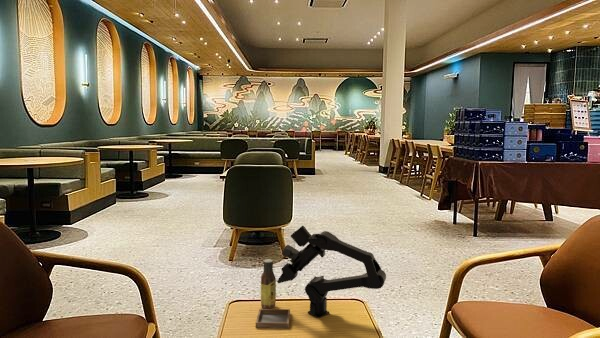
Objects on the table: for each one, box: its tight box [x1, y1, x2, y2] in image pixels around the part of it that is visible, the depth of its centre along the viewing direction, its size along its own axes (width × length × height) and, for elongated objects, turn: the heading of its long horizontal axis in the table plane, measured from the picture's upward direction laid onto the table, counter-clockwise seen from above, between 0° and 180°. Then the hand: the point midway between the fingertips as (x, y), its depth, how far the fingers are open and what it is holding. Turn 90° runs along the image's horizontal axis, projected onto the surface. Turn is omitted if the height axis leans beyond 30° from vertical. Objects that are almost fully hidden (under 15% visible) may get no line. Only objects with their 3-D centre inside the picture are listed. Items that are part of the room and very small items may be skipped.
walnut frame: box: [255, 308, 291, 329], centre depth 176 cm, size 12×12×2 cm
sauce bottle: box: [260, 258, 277, 309], centre depth 188 cm, size 6×6×20 cm
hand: (281, 278), depth 186 cm, fingers open, 9 cm apart
